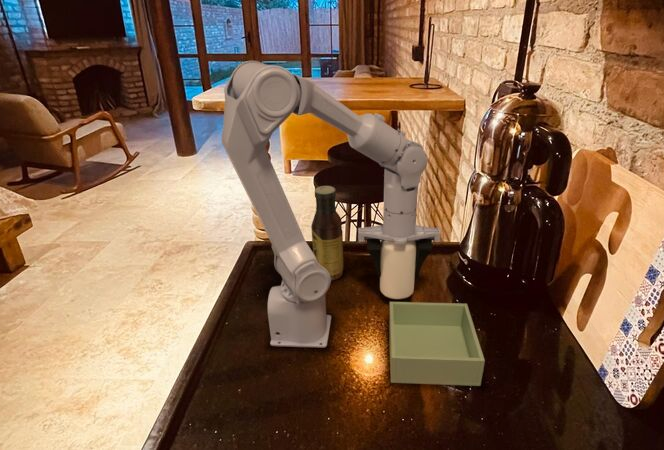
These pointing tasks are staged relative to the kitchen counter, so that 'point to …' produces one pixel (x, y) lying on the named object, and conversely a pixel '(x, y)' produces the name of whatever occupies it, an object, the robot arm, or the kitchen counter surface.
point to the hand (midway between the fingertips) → (397, 273)
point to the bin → (434, 344)
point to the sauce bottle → (327, 232)
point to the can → (397, 269)
